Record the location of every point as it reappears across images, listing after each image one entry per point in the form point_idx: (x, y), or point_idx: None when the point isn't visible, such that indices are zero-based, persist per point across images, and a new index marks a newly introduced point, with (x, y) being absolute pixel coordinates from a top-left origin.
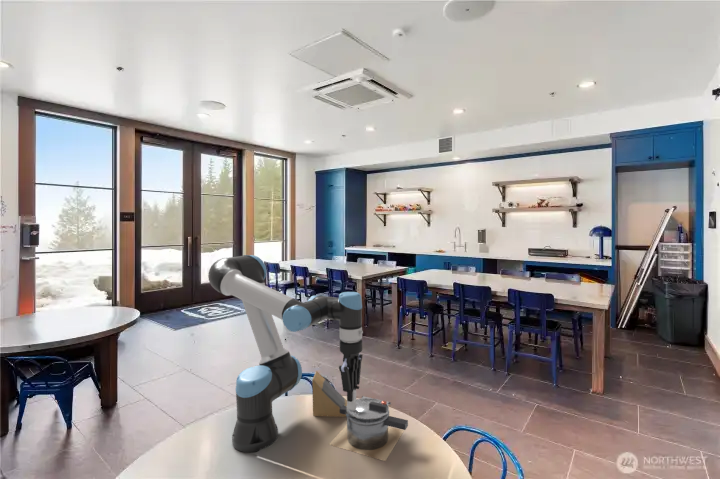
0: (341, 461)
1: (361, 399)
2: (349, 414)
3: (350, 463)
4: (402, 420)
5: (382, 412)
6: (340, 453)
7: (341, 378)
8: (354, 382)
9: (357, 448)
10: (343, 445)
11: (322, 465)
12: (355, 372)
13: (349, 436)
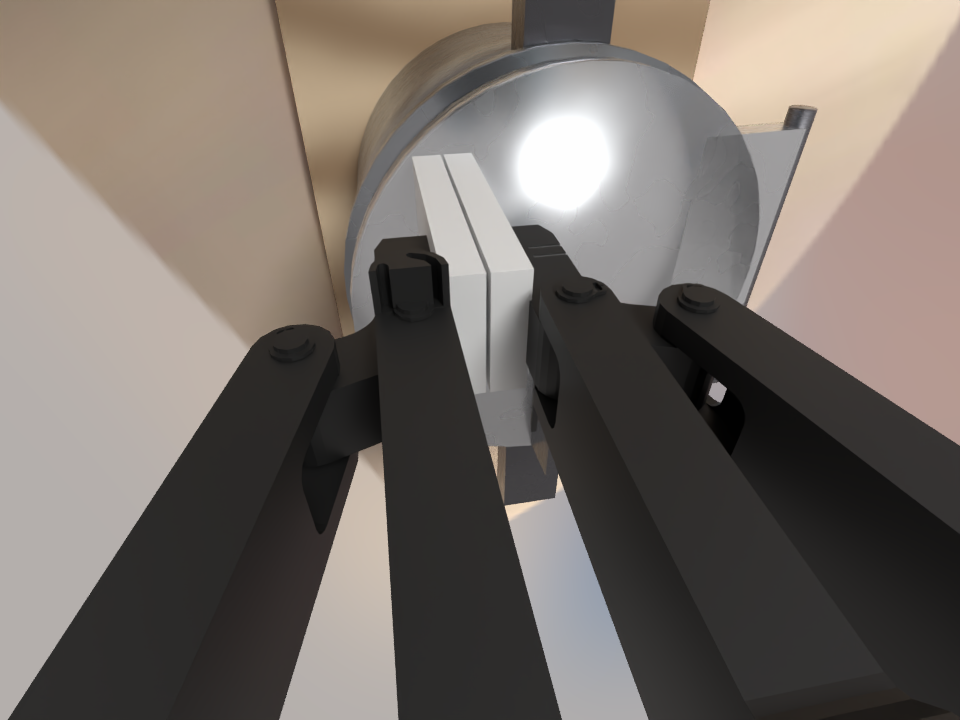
0: (188, 146)
1: (723, 152)
2: (369, 204)
3: (217, 210)
4: (542, 480)
5: (526, 426)
6: (253, 89)
7: (30, 691)
8: (561, 453)
9: (356, 189)
10: (327, 73)
11: (35, 33)
12: (645, 703)
13: (376, 120)
